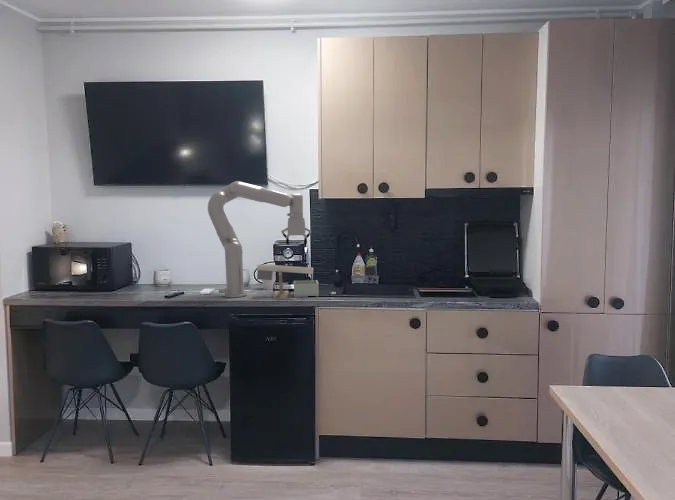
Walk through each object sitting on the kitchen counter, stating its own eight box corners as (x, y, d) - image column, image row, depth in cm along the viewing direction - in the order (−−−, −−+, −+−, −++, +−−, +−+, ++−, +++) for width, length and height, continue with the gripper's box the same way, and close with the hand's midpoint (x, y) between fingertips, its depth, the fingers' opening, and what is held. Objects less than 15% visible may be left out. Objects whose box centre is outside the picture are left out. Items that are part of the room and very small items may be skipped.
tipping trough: (256, 279, 334) (257, 265, 334) (257, 274, 351) (258, 261, 350) (312, 282, 337) (313, 269, 336) (311, 278, 353) (312, 265, 353)
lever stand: (273, 298, 332) (272, 272, 331) (274, 293, 346) (273, 268, 345) (288, 297, 333) (287, 271, 331) (288, 293, 347) (287, 268, 345)
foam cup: (257, 289, 362) (257, 267, 361) (266, 287, 370) (265, 265, 369) (271, 290, 358) (270, 268, 356) (279, 287, 366) (278, 266, 364)
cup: (294, 297, 333) (293, 284, 333) (294, 293, 347) (293, 280, 346) (318, 296, 334) (318, 283, 334) (317, 292, 348) (317, 280, 347)
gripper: (280, 215, 341) (281, 246, 343) (311, 215, 342) (311, 245, 344) (281, 215, 349) (281, 244, 350) (311, 215, 350) (311, 244, 352)
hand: (296, 245), depth 347 cm, fingers open, 9 cm apart
